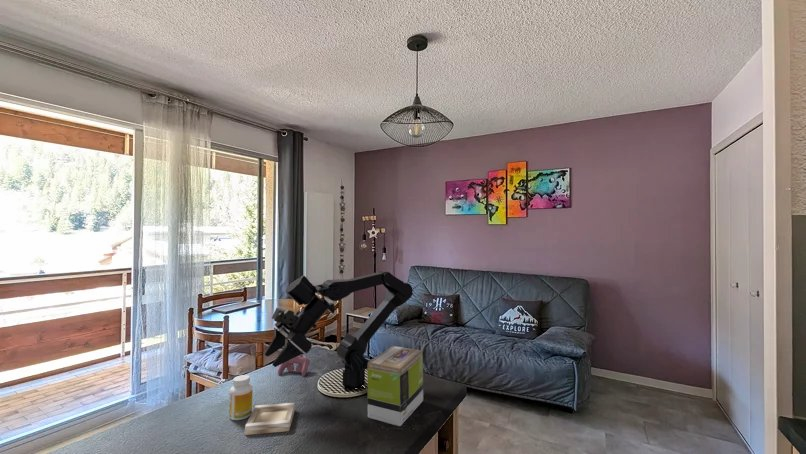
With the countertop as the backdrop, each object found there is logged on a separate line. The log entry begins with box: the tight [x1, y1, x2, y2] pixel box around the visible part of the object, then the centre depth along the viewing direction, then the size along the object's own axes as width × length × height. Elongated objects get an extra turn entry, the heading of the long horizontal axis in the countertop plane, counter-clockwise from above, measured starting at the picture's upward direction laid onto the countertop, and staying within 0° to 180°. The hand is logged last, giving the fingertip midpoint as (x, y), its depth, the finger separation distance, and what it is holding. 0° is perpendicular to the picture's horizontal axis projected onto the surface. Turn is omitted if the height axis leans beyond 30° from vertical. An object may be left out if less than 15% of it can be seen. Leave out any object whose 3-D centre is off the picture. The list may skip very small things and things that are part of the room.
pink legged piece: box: [277, 354, 311, 377], centre depth 116 cm, size 10×5×7 cm, turn 84°
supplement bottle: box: [228, 374, 253, 421], centre depth 88 cm, size 5×5×10 cm
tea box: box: [366, 345, 424, 427], centre depth 92 cm, size 15×10×15 cm
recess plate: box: [244, 402, 296, 436], centre depth 85 cm, size 10×10×2 cm
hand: (269, 360), depth 92 cm, fingers open, 9 cm apart
